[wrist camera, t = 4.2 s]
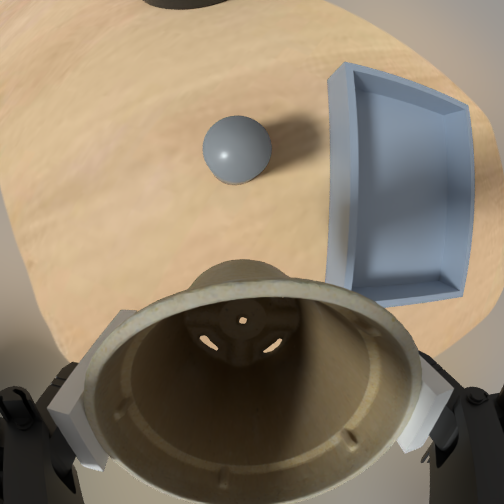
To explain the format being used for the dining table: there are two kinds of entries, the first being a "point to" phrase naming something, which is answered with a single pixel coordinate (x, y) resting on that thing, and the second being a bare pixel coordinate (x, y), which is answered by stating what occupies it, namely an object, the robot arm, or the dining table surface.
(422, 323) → the dining table surface
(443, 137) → the tote
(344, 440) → the flower pot
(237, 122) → the canister
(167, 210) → the dining table surface
